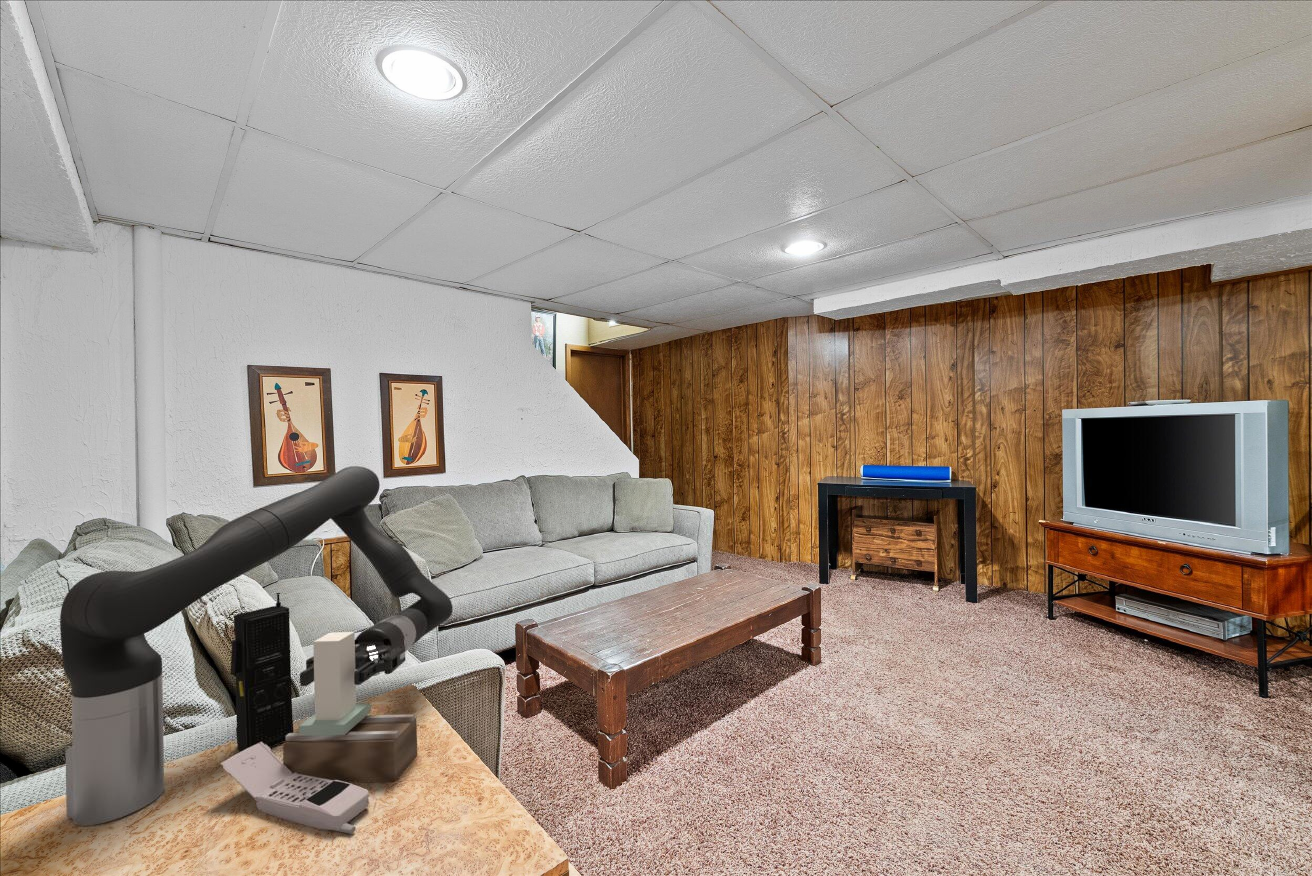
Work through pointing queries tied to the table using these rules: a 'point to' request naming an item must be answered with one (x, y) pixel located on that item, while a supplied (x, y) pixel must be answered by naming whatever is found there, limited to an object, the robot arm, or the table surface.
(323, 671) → the white pillar on base
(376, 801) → the table surface
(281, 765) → the mobile phone
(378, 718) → the walnut track
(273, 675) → the portable radio
